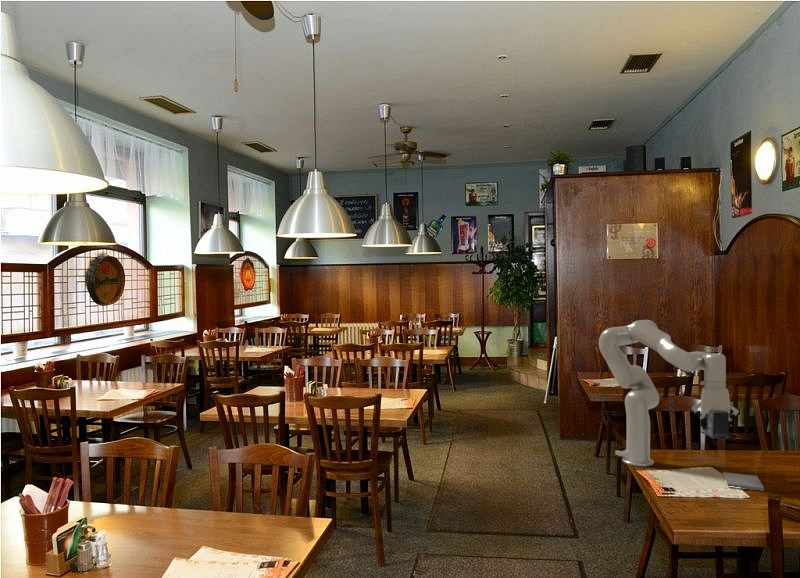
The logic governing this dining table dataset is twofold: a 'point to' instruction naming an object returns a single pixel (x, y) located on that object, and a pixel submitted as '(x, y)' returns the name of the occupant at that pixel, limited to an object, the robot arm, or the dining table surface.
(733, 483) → the slate board
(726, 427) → the small box
